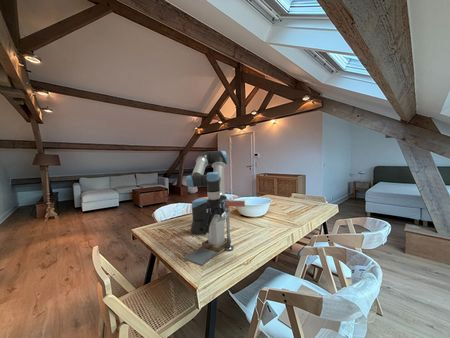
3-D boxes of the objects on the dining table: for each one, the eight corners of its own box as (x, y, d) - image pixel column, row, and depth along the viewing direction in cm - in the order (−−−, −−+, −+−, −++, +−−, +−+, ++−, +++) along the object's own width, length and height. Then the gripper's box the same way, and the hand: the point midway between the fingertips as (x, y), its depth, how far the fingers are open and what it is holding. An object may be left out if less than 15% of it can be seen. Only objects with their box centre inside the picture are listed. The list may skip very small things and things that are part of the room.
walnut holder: (202, 247, 109) (201, 243, 109) (214, 239, 120) (214, 235, 119) (218, 252, 102) (218, 248, 102) (231, 243, 113) (230, 239, 112)
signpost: (244, 258, 93) (242, 206, 92) (222, 256, 96) (219, 205, 94) (246, 246, 105) (244, 200, 103) (227, 245, 108) (224, 200, 106)
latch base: (222, 249, 105) (222, 248, 105) (228, 245, 109) (227, 244, 109) (230, 252, 102) (230, 250, 102) (235, 247, 106) (235, 246, 106)
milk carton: (216, 241, 116) (214, 211, 115) (225, 244, 111) (223, 213, 110) (208, 246, 111) (206, 214, 109) (217, 249, 106) (215, 216, 105)
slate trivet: (183, 258, 98) (183, 257, 98) (200, 248, 109) (200, 247, 109) (201, 265, 91) (201, 264, 90) (217, 253, 101) (217, 252, 101)
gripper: (205, 203, 97) (207, 243, 98) (230, 194, 117) (232, 227, 118) (194, 202, 101) (196, 240, 102) (221, 194, 122) (223, 225, 123)
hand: (216, 233), depth 110 cm, fingers open, 13 cm apart
